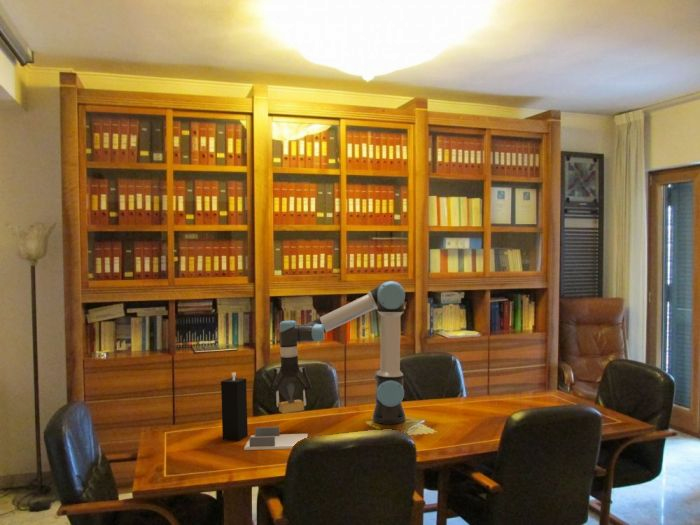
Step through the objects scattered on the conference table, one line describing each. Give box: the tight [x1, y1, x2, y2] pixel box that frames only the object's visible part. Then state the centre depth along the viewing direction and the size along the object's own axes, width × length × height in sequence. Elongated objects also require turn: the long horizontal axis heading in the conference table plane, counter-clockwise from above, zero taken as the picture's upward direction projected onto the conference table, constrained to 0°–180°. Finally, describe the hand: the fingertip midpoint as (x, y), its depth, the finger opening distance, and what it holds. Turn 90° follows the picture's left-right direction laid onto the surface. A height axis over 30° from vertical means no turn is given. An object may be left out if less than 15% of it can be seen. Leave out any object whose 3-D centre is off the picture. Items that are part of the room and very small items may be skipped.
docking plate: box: [243, 426, 309, 451], centre depth 225 cm, size 24×16×4 cm, turn 90°
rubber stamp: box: [278, 382, 305, 414], centre depth 241 cm, size 10×6×12 cm, turn 115°
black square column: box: [220, 371, 249, 442], centre depth 233 cm, size 8×8×28 cm
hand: (291, 405), depth 241 cm, fingers closed on rubber stamp, 11 cm apart
